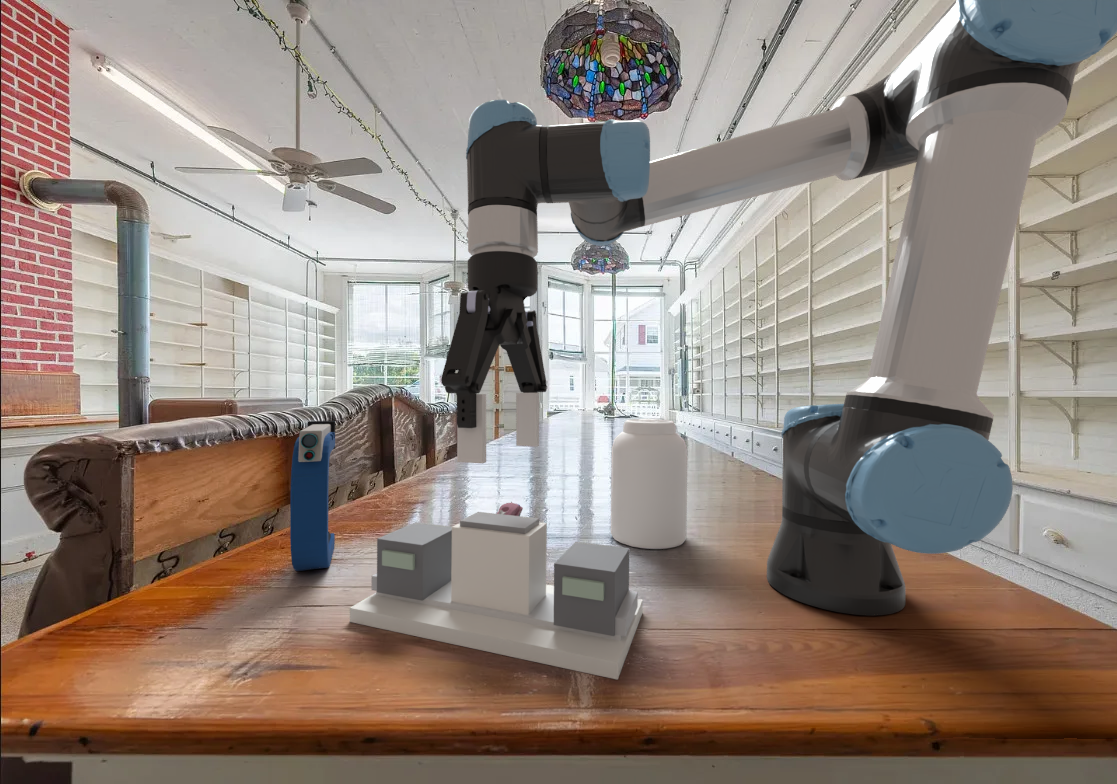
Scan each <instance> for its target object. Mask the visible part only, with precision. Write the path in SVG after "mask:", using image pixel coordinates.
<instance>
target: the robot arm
mask: <svg viewBox="0 0 1117 784" xmlns="http://www.w3.org/2000/svg"><path fill="white" fill-rule="evenodd" d="M1116 34H1117V0H955V1H953V3H952V4H951V5H950V6H949V7H948V9H947V10H946V11H944V13H943V14H942V15H941V16H940V17H939V19H937V21H936V22H935V23H934V25H932V26H931V28H929V30H928V31H927V32H926V34H925V35H924V36H922V38H921V39H920V40H919V41H918V43H917V44H916V45H915V46H914V47H913V49H912V50H911V51H910V52H909V53H908V54H907V55H906V56H905V58H903V60H901V62H900V63H899V64H898V65H897V67H896V68H894V69H893V70H892V71H891V72H890V73H889V74H887V75H886V76H885V77H884V78H882V79H881V80H879V81H878V82H876V83H874V84H873V85H872V86H869V87H868V88H866V89H864V90H861V91H859V92H856V93H852V94H849V95H845V96H843V97H840V99H838V100H837V102H835V104H834V105H833V107H832V109H829V110H826V111H822V112H819V113H816V114H812V115H809V116H808V115H807V116H805V117H802V118H799V119H795V120H791V121H788V122H784V123H781V124H777V125H774V126H770V127H767V128H764V129H760V130H757V131H752V132H750V133H745V134H741V135H739V136H735V137H733V138H728V139H726V140H725V139H724V140H721V141H718V142H714V143H711V144H708V145H705V146H700V147H697V148H693V149H689V150H687V151H683V152H679V153H676V154H673V155H672V154H671V155H668V156H665V157H663V158H659V159H655V160H652V161H651V136H650V135H651V134H650V133H651V132H650V129H649V127H648V125H647V124H646V123H645V122H643V121H641V120H616V119H613V118H611V119H608V120H602V121H600V120H599V121H589V122H576V123H568V124H567V123H566V124H554V125H553V124H552V125H545V126H544V125H542V124H541V125H538V123H537V121H538V120H537V117H536V115H535V113H534V112H533V110H531V108H529V107H528V106H527V105H525V104H524V103H521V102H518V101H515V102H510V101H508V100H507V99H493V100H488V101H484V102H483V103H481V104H480V105H478V106H477V107H475V109H474V110H473V111H472V113H471V115H470V117H469V120H468V131H467V132H468V133H467V134H468V135H467V147H466V152H465V155H466V156H465V158H466V165H467V167H466V168H467V171H466V173H467V214H468V216H467V217H468V218H467V220H468V221H467V222H468V223H467V232H466V238H467V251H468V253H469V254H470V255H471V256H470V257H469V259H468V260H467V291H462V292H461V293H460V295H459V296H460V299H459V313H458V317H457V321H456V324H455V327H454V332H453V335H452V338H451V343H450V346H449V348H448V349H449V350H448V352H447V356H446V360H445V362H444V363H445V364H444V367H443V371H442V374H441V379H440V381H441V385H442V386H443V387H444V390H445V392H446V393H447V394H455V395H456V428H457V430H456V431H457V432H456V433H457V434H456V436H457V437H456V438H457V439H456V441H457V442H456V443H457V444H456V445H457V448H456V449H457V450H456V453H457V454H456V455H457V456H456V457H457V458H456V460H457V461H456V462H457V463H465V464H467V463H469V464H481V465H482V464H486V463H487V394H486V393H480V392H481V391H482V388H483V385H484V383H485V381H486V378H487V376H488V374H489V372H490V368H491V366H492V364H493V361H494V359H495V356H496V354H497V351H498V349H499V346H500V347H501V349H503V350H505V352H506V355H507V357H508V359H509V363H510V365H511V368H512V372H513V375H514V376H515V380H516V382H517V384H518V385H517V386H518V387H519V391H520V392H515V395H516V396H515V398H516V399H515V400H516V401H515V406H516V407H515V409H516V410H515V412H516V415H515V417H516V418H515V420H516V421H515V422H516V423H515V426H516V427H515V428H516V429H515V430H516V432H515V436H516V437H515V439H516V443H515V444H516V445H515V446H516V447H533V448H534V447H535V448H536V447H537V448H538V447H540V393H546V392H547V390H548V386H547V384H548V383H547V377H546V372H545V365H544V361H543V355H542V349H541V345H540V339H539V333H538V320H537V318H538V317H537V313H536V310H533V309H532V310H526V307H525V302H524V301H525V299H527V298H528V297H532V296H534V295H535V294H537V292H538V261H536V259H535V257H536V256H538V253H539V251H538V250H539V237H538V229H539V228H538V206H539V205H538V204H563V203H564V204H565V203H568V204H569V208H570V218H571V221H572V224H574V227H575V229H576V231H577V233H578V235H579V236H580V237H581V238H582V239H583V240H584V242H587V243H588V244H590V245H593V246H600V247H603V246H608V245H611V244H613V243H615V242H616V241H618V240H619V239H620V238H621V237H622V236H623V234H624V233H625V232H629V231H632V230H634V229H638V228H641V227H642V228H643V227H645V226H649V225H653V224H657V223H661V222H665V221H668V220H673V219H676V218H680V217H683V216H687V215H690V214H691V215H692V214H694V213H698V212H702V211H706V210H710V209H715V208H717V207H721V206H725V205H730V204H732V203H736V202H741V201H744V200H747V199H751V198H755V197H759V196H763V195H766V194H770V193H774V192H777V191H782V190H785V189H790V188H792V187H796V186H800V185H803V184H807V183H812V182H815V181H820V180H822V179H826V178H827V179H828V178H830V177H833V176H835V177H836V178H838V179H840V180H841V181H847V182H848V181H851V180H855V179H860V178H863V177H866V176H870V175H871V176H872V175H874V174H879V173H882V172H886V171H890V170H894V169H897V168H898V169H899V168H901V167H905V166H908V165H912V164H915V167H914V172H913V174H912V175H913V176H912V181H911V184H910V185H911V186H910V189H909V194H908V198H907V203H906V207H905V211H904V217H903V220H902V225H901V229H900V234H899V238H898V243H897V246H896V252H895V256H894V259H893V264H892V268H891V269H892V270H891V274H890V277H889V283H888V286H887V291H886V295H885V301H884V303H883V307H882V308H883V309H882V311H881V312H882V314H881V317H880V321H879V325H878V332H877V335H876V339H875V343H874V344H875V345H874V349H873V352H872V358H871V361H870V365H869V370H868V376H867V377H866V379H865V380H864V382H862V383H860V384H858V385H856V386H855V387H854V388H852V389H850V390H848V391H847V392H846V393H845V400H844V403H832V404H831V403H830V404H828V403H827V404H818V405H817V404H816V405H814V404H813V405H801V406H797V407H793V408H791V409H790V408H789V410H787V412H786V413H785V414H784V417H783V427H782V428H783V429H782V430H781V439H782V479H781V481H782V482H781V483H782V485H781V486H782V488H781V489H782V496H781V497H782V499H781V502H782V505H781V506H782V507H781V508H782V509H781V522H780V526H779V528H778V531H777V534H776V536H775V539H774V542H773V544H772V547H771V549H770V552H769V555H768V557H767V561H766V579H767V580H766V581H767V582H768V584H769V585H770V586H771V587H773V589H775V590H776V591H777V592H779V593H781V594H782V595H784V596H786V597H788V598H791V599H793V600H794V601H797V602H800V603H803V604H804V605H808V606H812V607H815V608H819V609H822V610H825V611H831V612H835V613H842V614H847V615H849V614H850V615H857V616H883V615H891V614H895V613H897V612H900V611H902V610H903V609H904V608H905V606H906V583H905V579H904V577H903V574H902V571H901V569H900V566H899V565H900V564H899V563H898V561H897V557H896V554H895V552H894V551H895V550H894V549H893V546H895V547H898V548H899V549H902V550H905V551H908V552H912V553H919V554H925V555H927V554H929V555H933V554H935V555H936V554H945V553H951V552H952V553H953V552H956V551H959V550H960V551H961V550H962V549H963V548H965V547H967V546H969V545H970V544H974V543H977V542H979V541H981V540H983V539H984V538H985V537H987V536H989V534H990V533H992V532H993V530H995V528H997V526H998V525H999V524H1000V523H1001V521H1002V520H1003V518H1005V515H1006V513H1007V511H1008V509H1009V506H1010V505H1011V501H1012V496H1013V488H1014V487H1013V485H1014V483H1013V476H1012V473H1011V469H1010V466H1009V464H1007V463H1005V462H1004V460H1003V459H1002V457H1003V454H1002V452H1001V451H1000V450H999V448H997V447H996V446H995V445H994V443H992V442H991V441H989V439H990V435H991V431H992V430H991V429H992V426H993V421H994V414H993V413H992V412H991V411H990V409H989V408H988V407H987V406H986V405H985V404H984V403H983V402H982V401H981V400H980V398H979V396H978V389H979V385H980V382H981V377H982V372H983V369H984V364H985V360H986V355H987V351H988V347H989V343H990V338H991V334H992V330H993V325H994V321H995V317H996V313H997V309H998V304H999V299H1000V295H1001V291H1002V287H1003V284H1004V279H1005V274H1006V270H1007V266H1008V261H1009V257H1010V253H1011V249H1012V244H1013V241H1014V240H1013V239H1014V236H1015V232H1016V229H1017V224H1018V220H1019V215H1020V211H1021V206H1022V202H1023V198H1024V194H1025V190H1026V186H1027V181H1028V178H1029V177H1028V176H1029V173H1030V169H1031V164H1032V160H1033V155H1034V151H1035V146H1036V142H1037V140H1038V139H1039V138H1041V137H1042V136H1044V135H1046V134H1048V133H1049V132H1051V130H1054V129H1055V127H1057V126H1058V125H1060V123H1061V122H1062V121H1063V120H1064V117H1065V115H1066V112H1067V109H1068V105H1069V102H1070V98H1071V93H1072V89H1073V85H1074V80H1075V77H1076V73H1077V70H1078V67H1080V64H1081V63H1082V62H1083V61H1085V60H1087V59H1089V58H1090V57H1092V56H1093V55H1096V54H1097V53H1099V52H1100V51H1101V50H1102V49H1103V48H1104V47H1105V46H1106V45H1107V43H1108V42H1109V41H1110V40H1112V38H1113V37H1114V36H1115V35H1116ZM456 371H457V372H456Z"/></svg>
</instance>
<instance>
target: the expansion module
mask: <svg viewBox="0 0 1117 784" xmlns="http://www.w3.org/2000/svg"><path fill="white" fill-rule="evenodd" d="M451 527H452V566H451V601H453V602H458V603H464V604H469V605H475V606H480V607H486V608H492V609H497V610H503V611H508V612H514V613H519V614H525V615H529V614H530V613H531V612H532V611H533V609H534V608H535V607H536V606H537V605H538V604H539V603H540V601H541V600H542V599H543V598H544V597H545V596H546V584H547V550H548V549H547V543H548V542H547V541H548V539H547V537H548V536H547V534H548V532H547V531H548V530H547V527H548V524H547V522H541V521H540V518H538V517H529V516H523V515H520V516H513V515H503V514H496V513H494V512H482V511H477V512H475V513H473V514H470V515H469V516H466V517H465V518H462V519H461V520H459V523H457V524H454V525H453V526H451Z"/></svg>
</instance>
